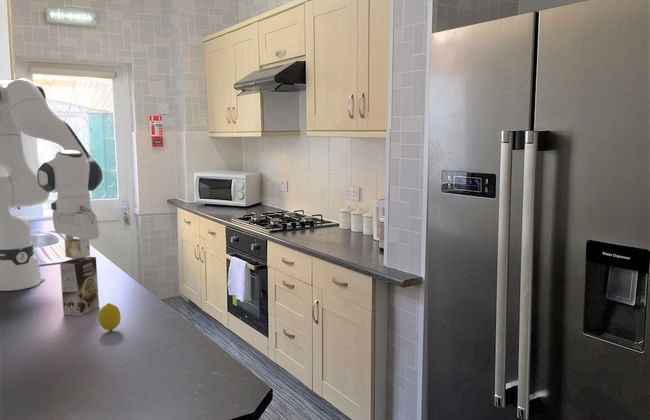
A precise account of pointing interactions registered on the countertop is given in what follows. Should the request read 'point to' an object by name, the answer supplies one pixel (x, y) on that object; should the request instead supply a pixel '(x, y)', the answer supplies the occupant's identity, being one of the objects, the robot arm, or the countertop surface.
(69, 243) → the beech cube
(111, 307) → the lemon
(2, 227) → the robot arm
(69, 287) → the coffee box
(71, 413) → the countertop surface
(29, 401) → the countertop surface
